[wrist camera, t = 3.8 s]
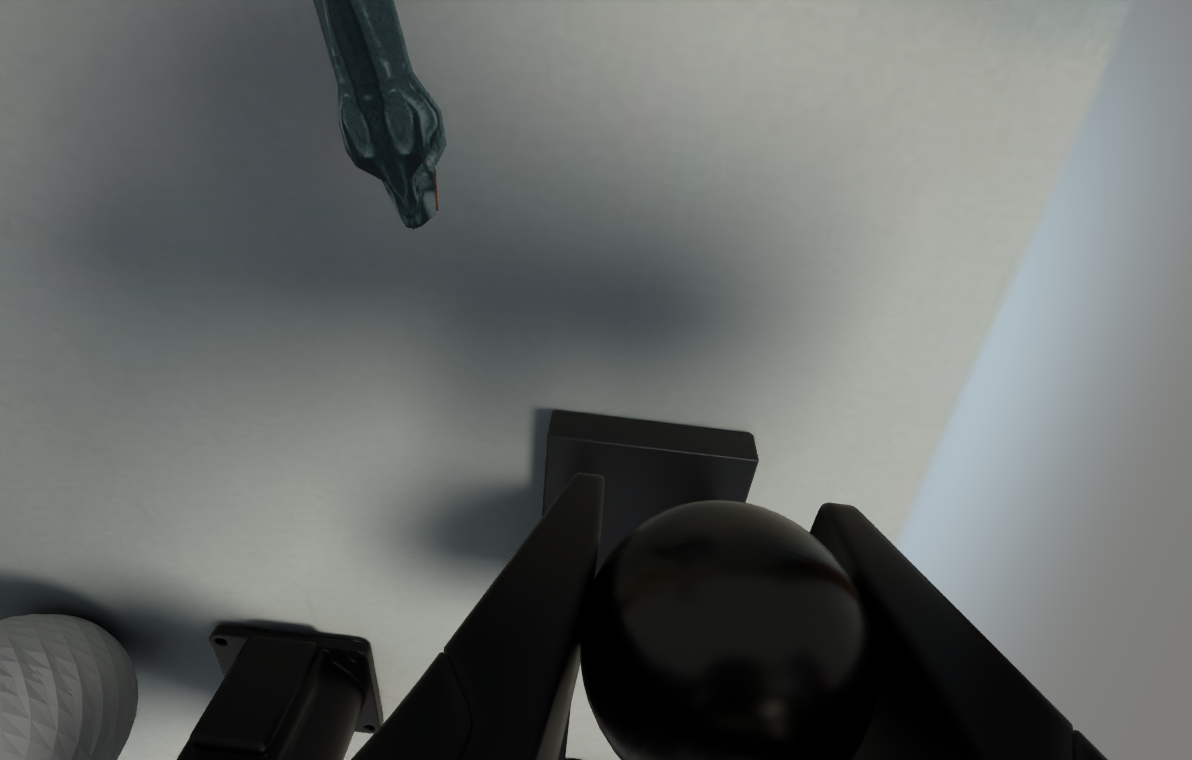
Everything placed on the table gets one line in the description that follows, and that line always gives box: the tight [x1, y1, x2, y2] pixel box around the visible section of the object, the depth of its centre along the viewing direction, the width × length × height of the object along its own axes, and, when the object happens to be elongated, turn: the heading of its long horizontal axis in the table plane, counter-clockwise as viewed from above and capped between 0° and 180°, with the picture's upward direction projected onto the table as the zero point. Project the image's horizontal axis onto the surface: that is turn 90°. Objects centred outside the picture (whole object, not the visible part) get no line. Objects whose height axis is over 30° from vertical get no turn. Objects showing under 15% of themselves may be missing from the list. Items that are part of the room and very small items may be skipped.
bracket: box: [542, 411, 759, 760], centre depth 16 cm, size 10×6×13 cm, turn 175°
